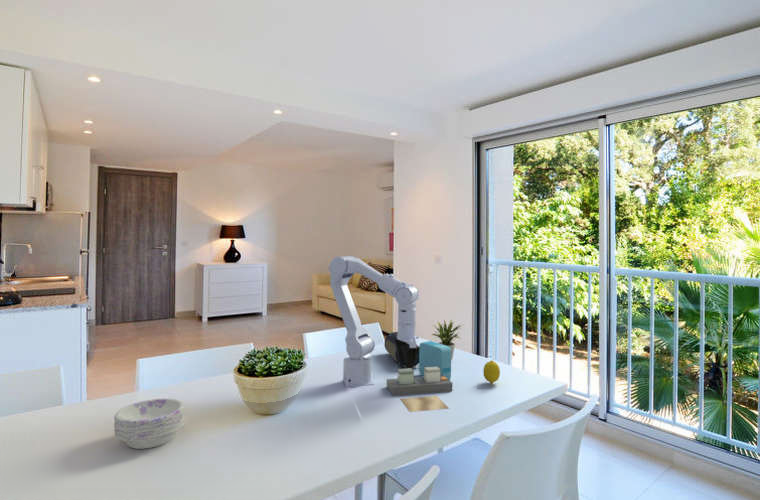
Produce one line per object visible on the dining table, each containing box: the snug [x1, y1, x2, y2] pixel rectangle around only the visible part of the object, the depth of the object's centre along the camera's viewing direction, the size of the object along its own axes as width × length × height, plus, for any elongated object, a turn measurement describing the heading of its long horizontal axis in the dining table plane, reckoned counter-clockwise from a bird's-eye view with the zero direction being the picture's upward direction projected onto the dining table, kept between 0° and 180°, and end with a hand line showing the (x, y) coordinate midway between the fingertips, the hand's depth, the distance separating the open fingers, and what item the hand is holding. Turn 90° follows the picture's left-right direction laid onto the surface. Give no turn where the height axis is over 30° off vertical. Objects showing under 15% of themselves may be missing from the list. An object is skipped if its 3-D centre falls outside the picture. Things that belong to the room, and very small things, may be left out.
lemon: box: [482, 359, 501, 384], centre depth 149 cm, size 6×6×8 cm
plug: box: [397, 368, 415, 385], centre depth 141 cm, size 4×3×7 cm, turn 103°
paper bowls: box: [113, 398, 186, 450], centre depth 106 cm, size 15×15×8 cm
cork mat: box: [400, 395, 450, 413], centre depth 130 cm, size 12×10×1 cm
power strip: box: [386, 375, 453, 397], centre depth 142 cm, size 20×8×4 cm, turn 103°
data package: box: [418, 340, 452, 381], centre depth 155 cm, size 12×4×12 cm, turn 36°
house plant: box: [431, 319, 465, 361], centre depth 177 cm, size 14×14×16 cm
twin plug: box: [423, 367, 440, 383], centre depth 143 cm, size 4×3×7 cm, turn 103°
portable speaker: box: [383, 331, 419, 368], centre depth 175 cm, size 25×10×10 cm, turn 14°
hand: (406, 364), depth 141 cm, fingers open, 7 cm apart
